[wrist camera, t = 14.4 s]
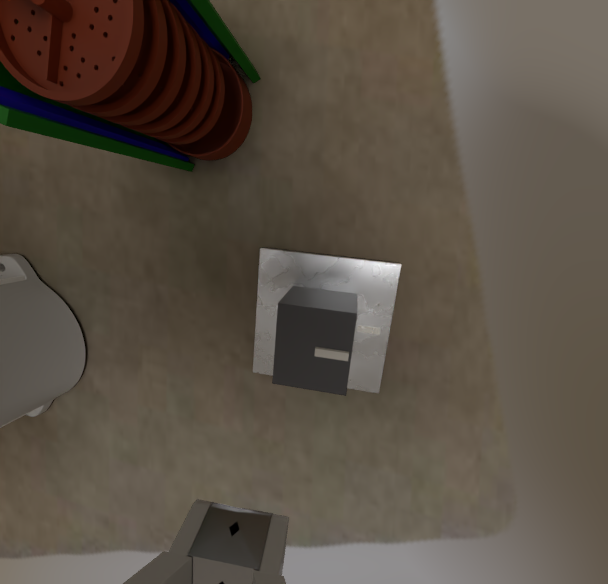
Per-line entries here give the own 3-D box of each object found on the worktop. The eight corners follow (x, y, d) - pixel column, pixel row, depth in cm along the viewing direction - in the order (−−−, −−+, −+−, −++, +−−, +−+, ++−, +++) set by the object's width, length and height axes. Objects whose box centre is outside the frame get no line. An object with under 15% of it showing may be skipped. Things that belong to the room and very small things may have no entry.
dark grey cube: (292, 285, 28) (276, 304, 22) (356, 293, 27) (357, 314, 21) (287, 352, 29) (271, 385, 24) (347, 361, 29) (345, 397, 23)
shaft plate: (256, 367, 31) (240, 391, 27) (263, 247, 28) (246, 253, 24) (378, 387, 30) (381, 417, 26) (399, 262, 27) (408, 272, 22)
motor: (223, 190, 28) (-74, 137, 9) (136, 139, 28) (-347, -23, 9) (275, 71, 25) (4, -410, 6) (178, 16, 25) (-406, -634, 6)
